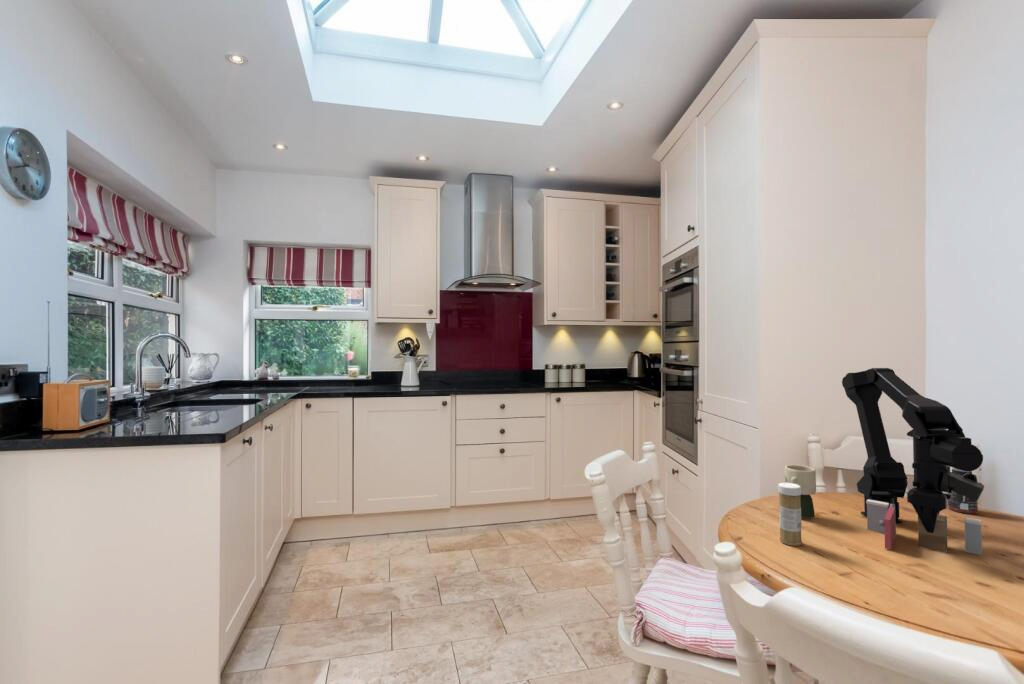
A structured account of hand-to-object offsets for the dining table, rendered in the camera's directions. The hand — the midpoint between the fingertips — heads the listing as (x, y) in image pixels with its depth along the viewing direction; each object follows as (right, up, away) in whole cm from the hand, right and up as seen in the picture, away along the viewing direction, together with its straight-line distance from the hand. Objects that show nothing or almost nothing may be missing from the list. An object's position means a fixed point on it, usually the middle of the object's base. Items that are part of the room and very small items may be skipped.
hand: (931, 528), depth 105 cm
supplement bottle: (+29, -4, +22) cm, 37 cm away
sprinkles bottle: (-30, -5, +3) cm, 31 cm away
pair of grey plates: (0, -4, +3) cm, 5 cm away
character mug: (-18, -5, +19) cm, 27 cm away
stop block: (0, -4, 0) cm, 4 cm away
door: (-8, -4, +3) cm, 9 cm away
